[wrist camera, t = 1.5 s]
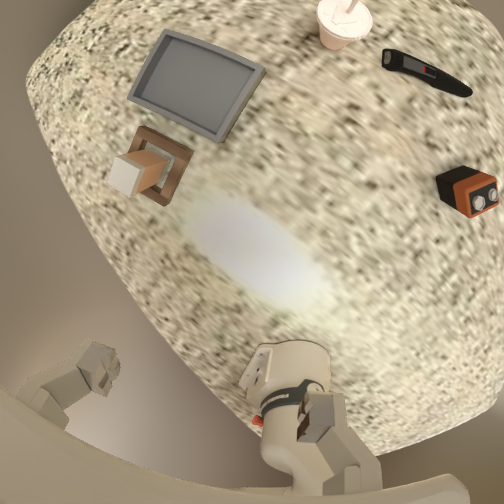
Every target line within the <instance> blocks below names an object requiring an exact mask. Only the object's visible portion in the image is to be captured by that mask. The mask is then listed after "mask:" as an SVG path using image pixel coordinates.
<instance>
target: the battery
mask: <svg viewBox="0 0 504 504" xmlns="http://www.w3.org/2000/svg"><path fill="white" fill-rule="evenodd" d="M436 180H437V184H438V189H439V193H440V198H441V200H442V201H443V202H445V203H446V204H448V205H450V206H451V207H453V208H454V209H456V210H458V211H459V212H461V213H462V214H464V215H465V216H467V217H468V218H473V217H475V216H477V215H479V214H481V213H483V212H485V211H487V210H489V209H491V208H493V207H495V206H497V205H498V204H499V197H498V196H499V195H498V188H497V181H496V178H495V177H493V176H491V175H488V174H486V173H483V172H480V171H478V170H475V169H472V168H469V167H466V166H461V167H459V168H456V169H454V170H451V171H449V172H446V173H444V174H441V175H439V176H437V177H436Z"/></svg>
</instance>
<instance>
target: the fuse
mask: <svg viewBox="0 0 504 504" xmlns="http://www.w3.org/2000/svg"><path fill="white" fill-rule="evenodd" d="M171 160H172V158H170V157H168V156H166V155H164V154H162V153H161V152H159V151H157V150H155V149H153V148H149V149H144V150H140V151H135V152H131V153H127V154H123V155H119V156H116V157H115V160H114V163H113V166H112V169H111V172H110V175H109V178H108V181H107V184H108V185H109V186H111V187H113V188H114V189H116V190H118V191H119V192H121V193H123V194H124V195H126V196H127V197H129V198H130V197H132V196H133V195H135V194H137V193H139V192H141V191H143V190H145V189H147V188H149V187H151V186H153V185H155V184H157V183H159V182H161V181H162V180H163V178H164V176H165V173H166V171H167V169H168V167H169V164H170V162H171Z"/></svg>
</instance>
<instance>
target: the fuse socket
mask: <svg viewBox="0 0 504 504" xmlns="http://www.w3.org/2000/svg"><path fill="white" fill-rule="evenodd" d="M147 141H148V142H149V143H151V144H153V145H155V146H157V147H159V148H161V149H163V150H165V151H167V152H168V153H170V154H172V155H174V156H176V157H177V158H176V160H175V162H174V164H173V166H172V168H171V170H170V172H169V175H168V177H167V179H166V181H165V184H164V186H163V188H162V189H161V188H159V187H158V186H156V185H153V186H151V187H149V188H147V189H145V190H143V191H141V192H140V193H142V194H143V195H145V196H147V197H148V198H150V199H152V200H153V201H155V202H157V203H159V204H160V205H162V206H164V207H165V206H166V205H168V204H169V203H170V201H171V199H172V197H173V194H174V192H175V190H176V188H177V186H178V184H179V182H180V179H181V177H182V175H183V173H184V171H185V169H186V167H187V165H188V163H189V161H190V159H191V157H192V155H193V153H194V151H193V150H191V149H189V148H188V147H186V146H184V145H182V144H180V143H178V142H176V141H174V140H172V139H170V138H168V137H166V136H164V135H162V134H161V133H159V132H157V131H155V130H153V129H151V128H149V127H146V126H139V127H138V129H137V132H136V134H135V137H134V139H133V141H132V144H131V146H130V149H129V151H128V153H131V152H135V151H140V150H144V148H145V145H146V143H147Z"/></svg>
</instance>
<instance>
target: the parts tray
mask: <svg viewBox="0 0 504 504" xmlns="http://www.w3.org/2000/svg"><path fill="white" fill-rule="evenodd" d="M266 73H267V72H266V70H265V67H263V66H261V65H259V64H257V63H255V62H252V61H250V60H248V59H246V58H244V57H242V56H239V55H237V54H235V53H232V52H230V51H228V50H225V49H223V48H220V47H218V46H215V45H213V44H210V43H207V42H205V41H202V40H199V39H196V38H193V37H190V36H187V35H184V34H181V33H178V32H175V31H171V30H168V29H164V30H163V32H162V33H161V35H160V37H159V38H158V40H157V42H156V43H155V45H154V47H153V48H152V50H151V52H150V54H149V55H148V57H147V59H146V61H145V63H144V65H143V66H142V68H141V70H140V72H139V74H138V76H137V78H136V80H135V82H134V84H133V86H132V88H131V90H130V92H129V95H128V97H127V99H128V100H130V101H132V102H134V103H137V104H139V105H141V106H143V107H146V108H148V109H150V110H152V111H154V112H156V113H159V114H161V115H163V116H165V117H167V118H169V119H171V120H173V121H175V122H177V123H179V124H181V125H183V126H185V127H187V128H189V129H191V130H193V131H195V132H197V133H199V134H201V135H203V136H205V137H207V138H209V139H210V140H212V141H214V142H216V143H223V142H224V141H225V140H226V138H227V136H228V134H229V133H230V131H231V129H232V127H233V126H234V124H235V122H236V121H237V119H238V117H239V116H240V114H241V112H242V111H243V109H244V107H245V106H246V104H247V102H248V101H249V99H250V98H251V96H252V94H253V93H254V91H255V90H256V88H257V87H258V85H259V83H260V82H261V80H262V79H263V77H264V76H265V74H266Z"/></svg>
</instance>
